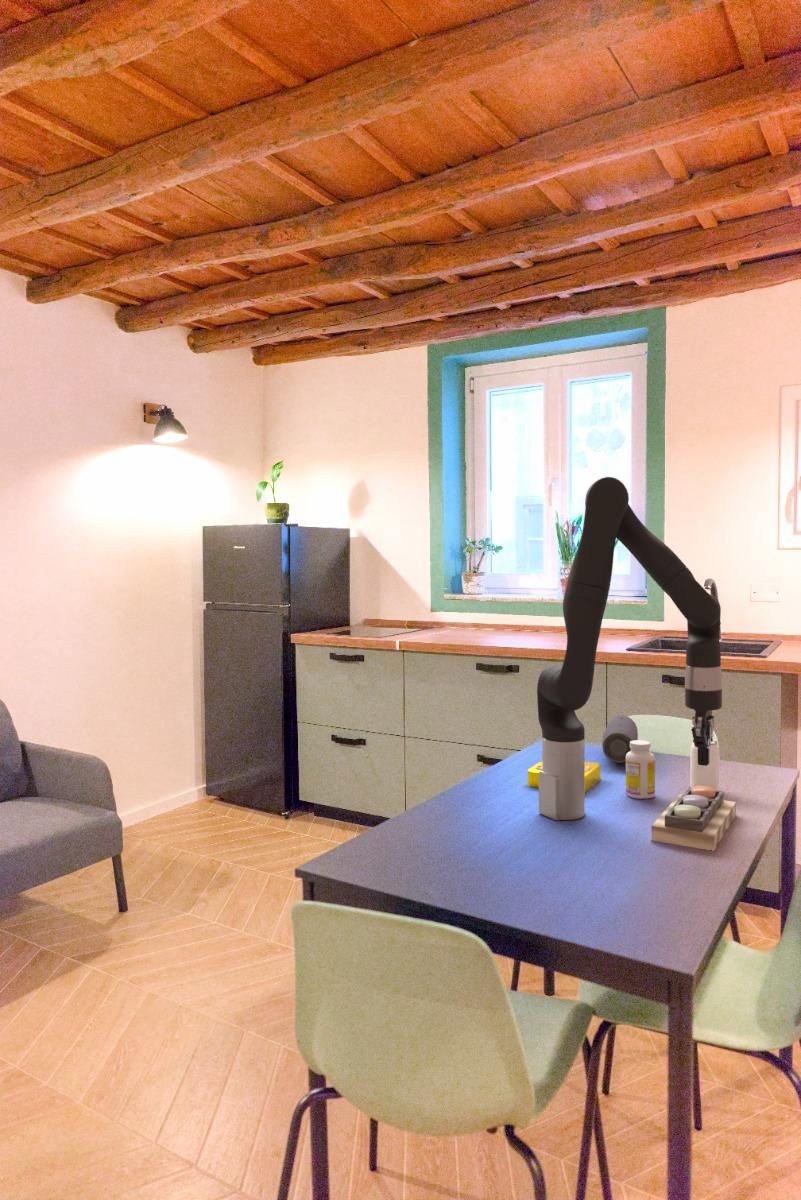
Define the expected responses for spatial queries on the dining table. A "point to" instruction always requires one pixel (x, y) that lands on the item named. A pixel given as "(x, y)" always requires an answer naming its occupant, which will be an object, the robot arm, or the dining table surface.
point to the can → (705, 768)
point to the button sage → (687, 811)
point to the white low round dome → (696, 801)
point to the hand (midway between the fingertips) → (703, 764)
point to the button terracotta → (703, 791)
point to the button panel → (695, 824)
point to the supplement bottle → (640, 770)
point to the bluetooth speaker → (619, 738)
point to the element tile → (590, 774)
